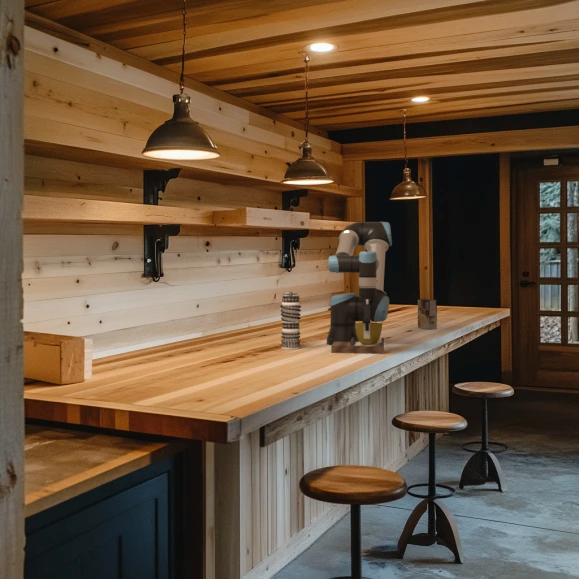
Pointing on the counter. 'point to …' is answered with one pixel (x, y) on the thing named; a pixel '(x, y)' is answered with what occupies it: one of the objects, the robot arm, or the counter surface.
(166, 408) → the counter surface
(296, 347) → the decorative candle
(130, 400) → the counter surface
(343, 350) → the dock
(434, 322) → the coffee box
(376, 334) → the flower pot
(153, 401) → the counter surface
